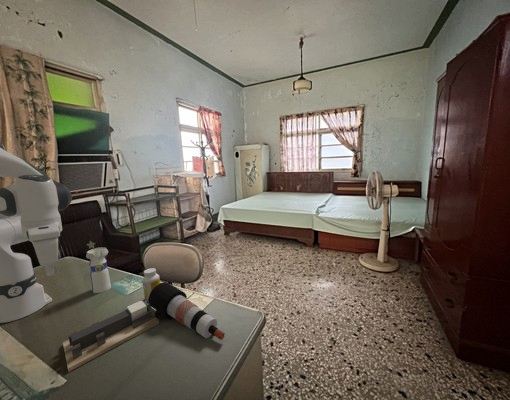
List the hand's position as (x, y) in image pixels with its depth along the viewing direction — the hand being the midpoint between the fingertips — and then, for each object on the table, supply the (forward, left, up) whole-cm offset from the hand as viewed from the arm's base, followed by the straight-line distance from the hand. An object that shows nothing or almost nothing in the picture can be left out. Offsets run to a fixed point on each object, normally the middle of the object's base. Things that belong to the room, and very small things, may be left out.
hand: (49, 269), depth 69 cm
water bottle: (-28, +17, -25) cm, 41 cm away
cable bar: (+10, +12, -24) cm, 29 cm away
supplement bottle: (0, +30, -25) cm, 39 cm away
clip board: (+11, +12, -25) cm, 30 cm away
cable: (+26, +32, -25) cm, 48 cm away
